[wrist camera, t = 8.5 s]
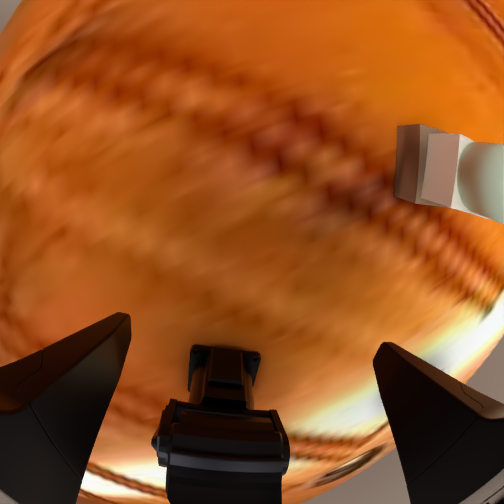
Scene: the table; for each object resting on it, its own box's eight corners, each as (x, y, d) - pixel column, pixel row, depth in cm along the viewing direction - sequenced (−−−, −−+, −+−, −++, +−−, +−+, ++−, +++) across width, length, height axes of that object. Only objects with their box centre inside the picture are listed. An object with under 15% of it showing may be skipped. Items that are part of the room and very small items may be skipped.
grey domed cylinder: (485, 221, 15) (523, 238, 11) (448, 197, 14) (492, 212, 10) (500, 161, 13) (538, 169, 9) (465, 128, 12) (508, 130, 9)
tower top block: (460, 208, 18) (489, 219, 14) (420, 197, 17) (450, 207, 14) (468, 151, 16) (498, 155, 13) (429, 133, 16) (459, 133, 12)
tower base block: (440, 202, 21) (464, 210, 18) (392, 195, 21) (415, 203, 17) (445, 140, 19) (469, 141, 16) (396, 126, 19) (420, 124, 15)
